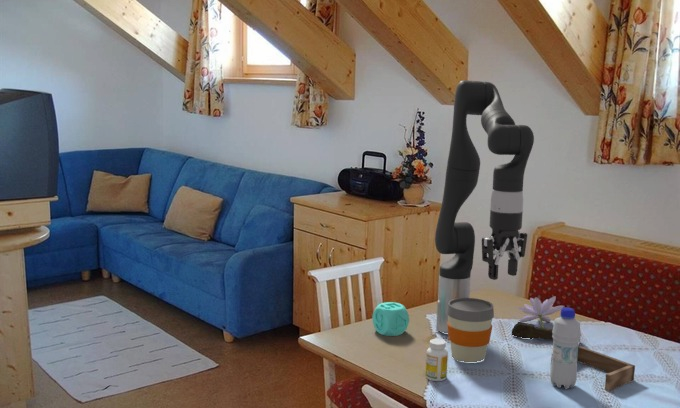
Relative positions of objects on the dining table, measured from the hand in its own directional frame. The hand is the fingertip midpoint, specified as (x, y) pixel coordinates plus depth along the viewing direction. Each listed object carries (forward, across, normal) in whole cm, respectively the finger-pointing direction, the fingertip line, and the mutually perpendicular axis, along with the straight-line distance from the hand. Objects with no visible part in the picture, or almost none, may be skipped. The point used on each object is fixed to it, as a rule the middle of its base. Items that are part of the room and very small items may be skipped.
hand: (502, 276), depth 169 cm
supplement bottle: (+28, -10, +12) cm, 32 cm away
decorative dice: (+28, +2, +44) cm, 52 cm away
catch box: (+28, +25, -10) cm, 39 cm away
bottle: (+28, +13, -10) cm, 32 cm away
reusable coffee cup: (+28, +7, +16) cm, 33 cm away
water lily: (+28, +45, +22) cm, 58 cm away
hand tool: (+28, +35, +13) cm, 47 cm away
